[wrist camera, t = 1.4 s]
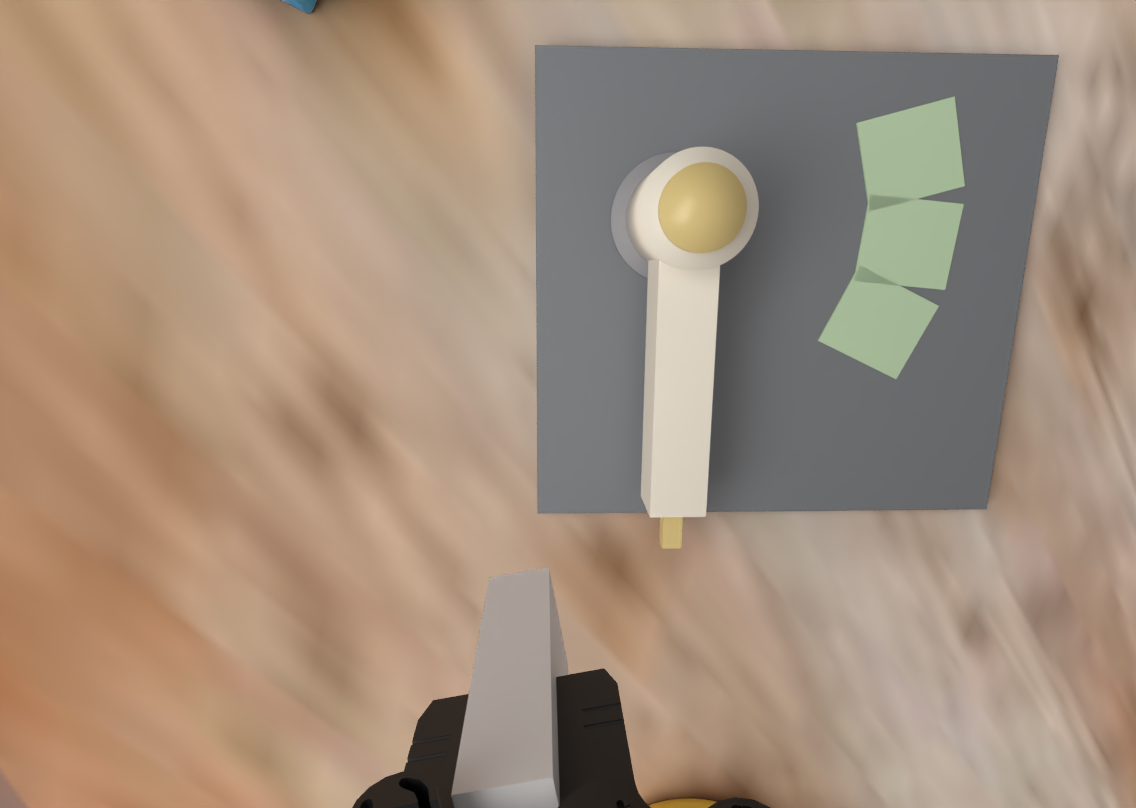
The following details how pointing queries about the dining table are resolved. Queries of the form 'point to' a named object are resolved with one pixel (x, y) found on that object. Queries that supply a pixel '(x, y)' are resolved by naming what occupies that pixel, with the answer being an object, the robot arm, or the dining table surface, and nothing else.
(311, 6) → the ink box
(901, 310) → the board
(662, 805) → the teapot
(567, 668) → the robot arm
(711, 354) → the peg lever
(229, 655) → the dining table surface
